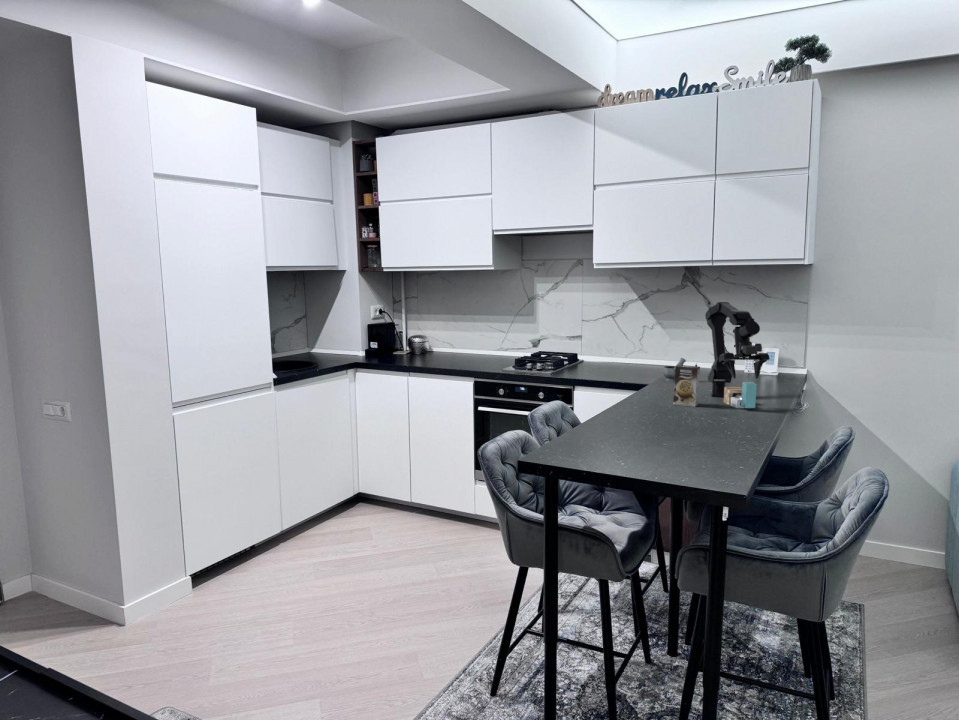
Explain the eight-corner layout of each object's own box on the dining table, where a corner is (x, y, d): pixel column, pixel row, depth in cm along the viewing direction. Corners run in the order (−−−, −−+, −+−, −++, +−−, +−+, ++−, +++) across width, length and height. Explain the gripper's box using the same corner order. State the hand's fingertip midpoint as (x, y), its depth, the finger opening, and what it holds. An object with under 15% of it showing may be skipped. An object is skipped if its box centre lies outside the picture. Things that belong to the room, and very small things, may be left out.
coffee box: (672, 404, 276) (674, 366, 273) (675, 402, 281) (677, 364, 279) (695, 407, 271) (697, 367, 269) (698, 404, 277) (700, 365, 275)
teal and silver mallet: (730, 400, 279) (732, 377, 277) (739, 400, 279) (741, 377, 277) (745, 407, 265) (746, 383, 263) (755, 407, 265) (756, 383, 264)
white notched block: (730, 405, 276) (731, 397, 275) (745, 405, 276) (746, 397, 276) (736, 408, 270) (737, 399, 269) (752, 408, 270) (752, 400, 270)
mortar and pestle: (659, 381, 333) (661, 357, 331) (664, 378, 341) (665, 355, 340) (682, 383, 328) (684, 359, 326) (686, 380, 336) (687, 357, 334)
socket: (723, 402, 282) (724, 386, 281) (740, 402, 282) (741, 386, 281) (728, 404, 277) (729, 389, 276) (745, 404, 277) (746, 389, 276)
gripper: (728, 335, 264) (731, 374, 260) (774, 336, 265) (778, 374, 261) (717, 342, 275) (720, 379, 271) (761, 342, 275) (764, 380, 272)
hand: (745, 378), depth 269 cm, fingers open, 9 cm apart
